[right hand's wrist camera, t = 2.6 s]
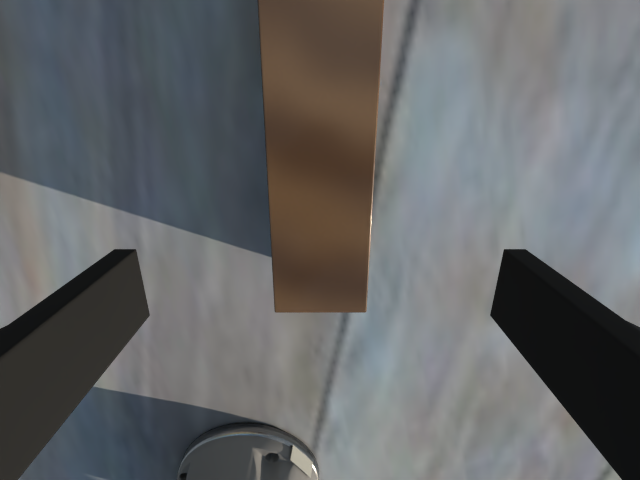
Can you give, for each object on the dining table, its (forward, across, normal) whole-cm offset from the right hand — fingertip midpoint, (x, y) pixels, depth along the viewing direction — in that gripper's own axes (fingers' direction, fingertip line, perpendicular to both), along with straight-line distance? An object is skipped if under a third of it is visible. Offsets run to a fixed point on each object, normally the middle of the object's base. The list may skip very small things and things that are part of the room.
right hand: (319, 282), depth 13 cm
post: (+16, 0, -30) cm, 34 cm away
